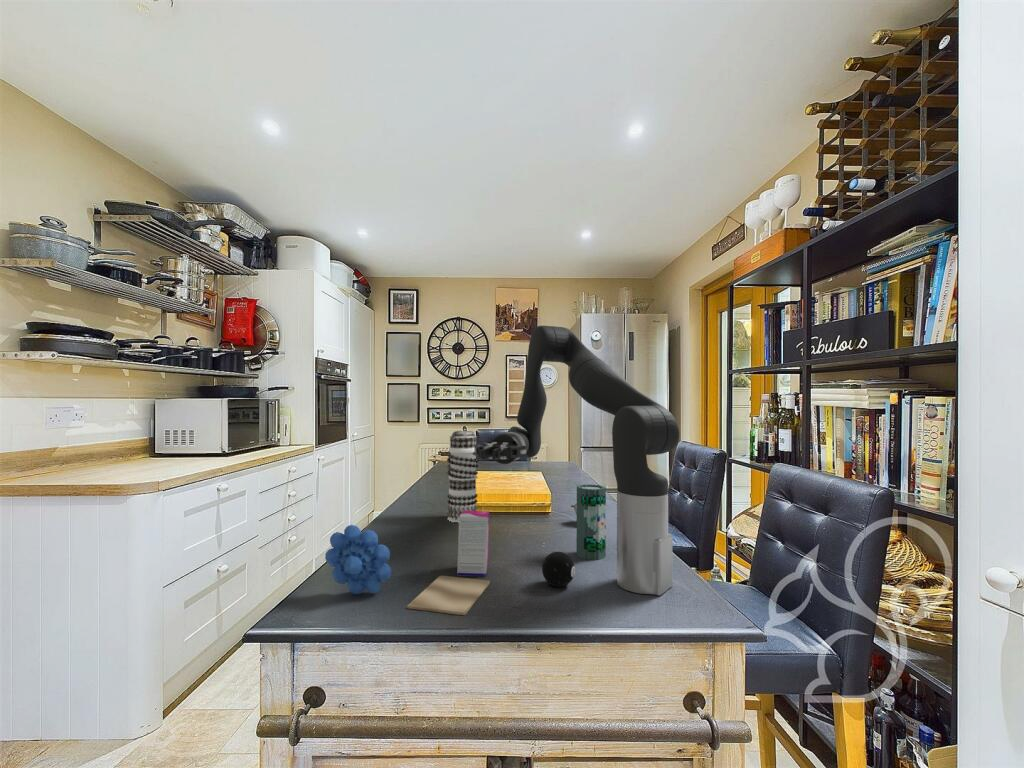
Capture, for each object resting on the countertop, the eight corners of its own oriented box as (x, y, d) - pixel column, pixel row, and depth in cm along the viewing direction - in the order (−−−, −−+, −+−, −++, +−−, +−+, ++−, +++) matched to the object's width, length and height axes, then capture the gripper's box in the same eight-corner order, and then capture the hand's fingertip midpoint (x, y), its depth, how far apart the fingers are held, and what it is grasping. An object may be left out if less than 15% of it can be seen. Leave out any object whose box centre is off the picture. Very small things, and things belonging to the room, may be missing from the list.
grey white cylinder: (466, 513, 144) (467, 429, 144) (484, 519, 137) (485, 431, 137) (439, 518, 138) (441, 431, 139) (458, 525, 131) (459, 432, 132)
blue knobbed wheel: (314, 604, 80) (315, 531, 80) (330, 588, 87) (331, 521, 87) (383, 605, 80) (385, 532, 80) (394, 589, 87) (395, 521, 87)
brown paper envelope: (440, 577, 92) (440, 575, 92) (490, 582, 90) (490, 580, 90) (406, 608, 79) (407, 605, 79) (464, 615, 76) (464, 612, 76)
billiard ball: (549, 577, 93) (550, 545, 93) (579, 582, 90) (579, 550, 91) (536, 587, 88) (537, 554, 88) (567, 594, 85) (567, 559, 85)
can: (592, 561, 102) (592, 490, 103) (571, 554, 107) (571, 486, 107) (610, 555, 106) (610, 487, 106) (589, 549, 111) (589, 483, 111)
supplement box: (486, 576, 93) (487, 517, 93) (456, 576, 93) (457, 516, 94) (489, 566, 99) (489, 510, 99) (460, 565, 99) (460, 509, 99)
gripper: (482, 431, 125) (459, 436, 108) (534, 433, 122) (519, 438, 105) (482, 460, 125) (459, 470, 108) (534, 463, 121) (518, 473, 105)
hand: (488, 454), depth 106 cm, fingers closed
